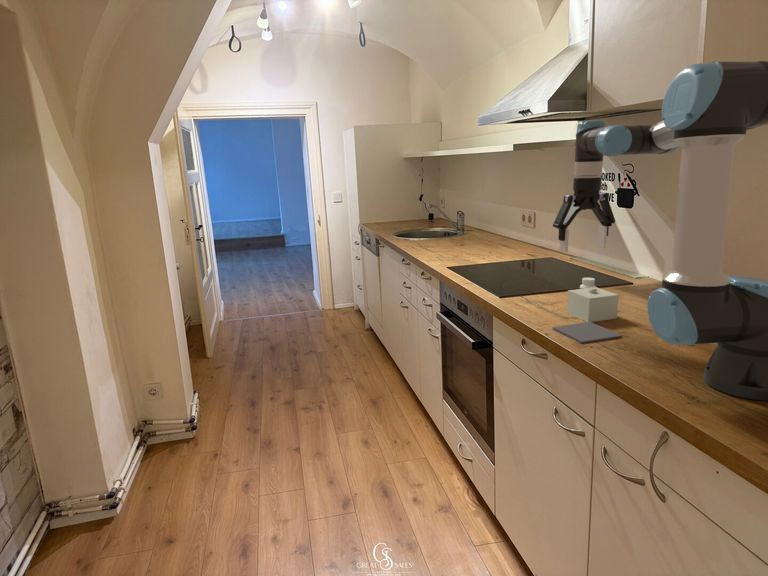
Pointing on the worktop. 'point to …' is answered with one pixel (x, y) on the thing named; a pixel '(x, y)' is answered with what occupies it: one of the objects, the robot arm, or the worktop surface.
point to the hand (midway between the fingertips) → (582, 249)
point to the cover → (592, 304)
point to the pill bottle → (587, 283)
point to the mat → (586, 332)
